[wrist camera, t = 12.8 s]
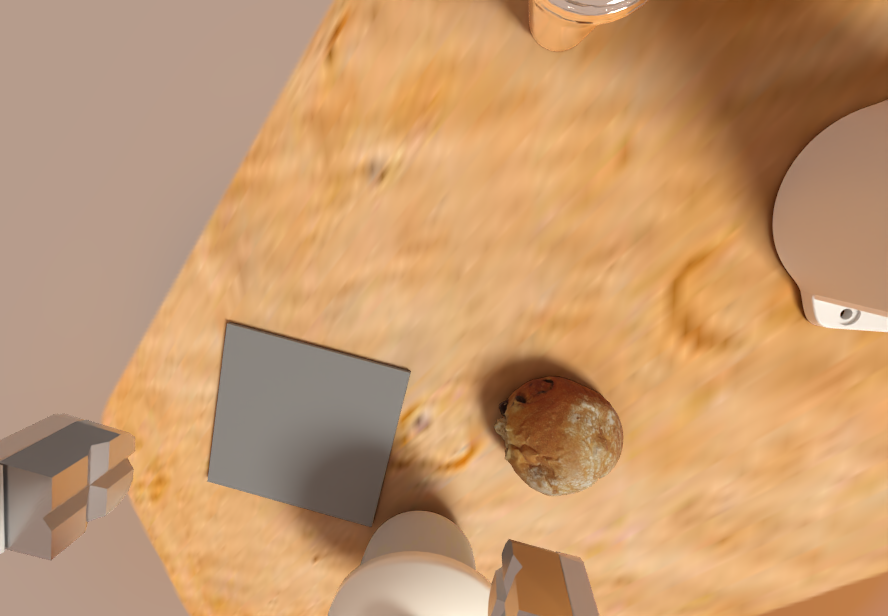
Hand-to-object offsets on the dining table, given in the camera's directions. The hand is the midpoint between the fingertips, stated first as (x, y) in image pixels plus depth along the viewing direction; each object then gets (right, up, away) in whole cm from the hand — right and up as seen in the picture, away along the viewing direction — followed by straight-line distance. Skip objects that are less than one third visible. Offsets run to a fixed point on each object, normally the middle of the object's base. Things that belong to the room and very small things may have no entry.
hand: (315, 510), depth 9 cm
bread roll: (+12, -6, +29) cm, 32 cm away
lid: (+1, -22, +25) cm, 33 cm away
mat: (-11, -7, +31) cm, 33 cm away
